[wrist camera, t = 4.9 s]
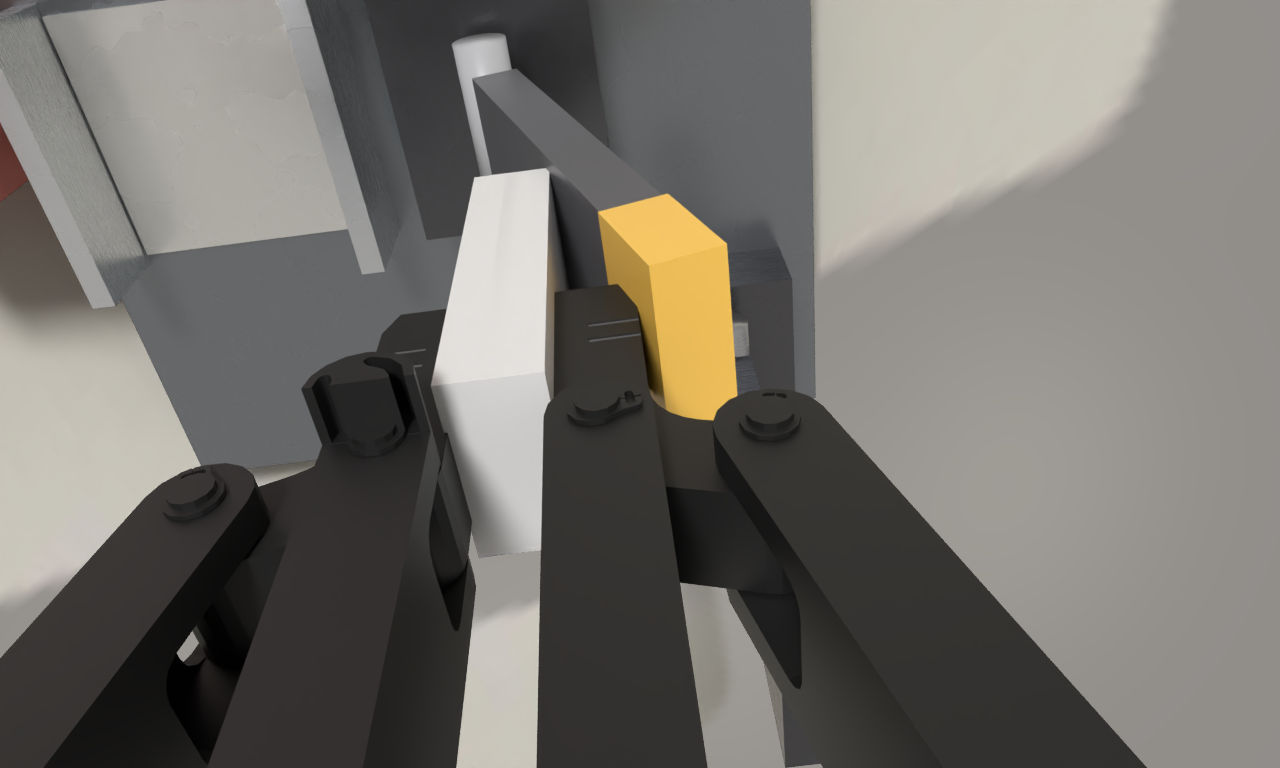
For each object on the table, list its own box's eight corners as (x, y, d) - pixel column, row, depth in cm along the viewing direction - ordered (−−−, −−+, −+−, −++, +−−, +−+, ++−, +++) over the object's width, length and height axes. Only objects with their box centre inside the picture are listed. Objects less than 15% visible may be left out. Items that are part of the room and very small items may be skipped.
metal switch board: (223, 437, 33) (-19, 907, 19) (-24, -115, 23) (-824, 64, 10) (803, 364, 32) (961, 791, 19) (791, -226, 23) (1085, -194, 10)
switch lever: (483, 205, 24) (671, 481, 14) (447, 40, 21) (641, 234, 12) (529, 193, 24) (744, 456, 14) (498, 29, 22) (727, 210, 12)
